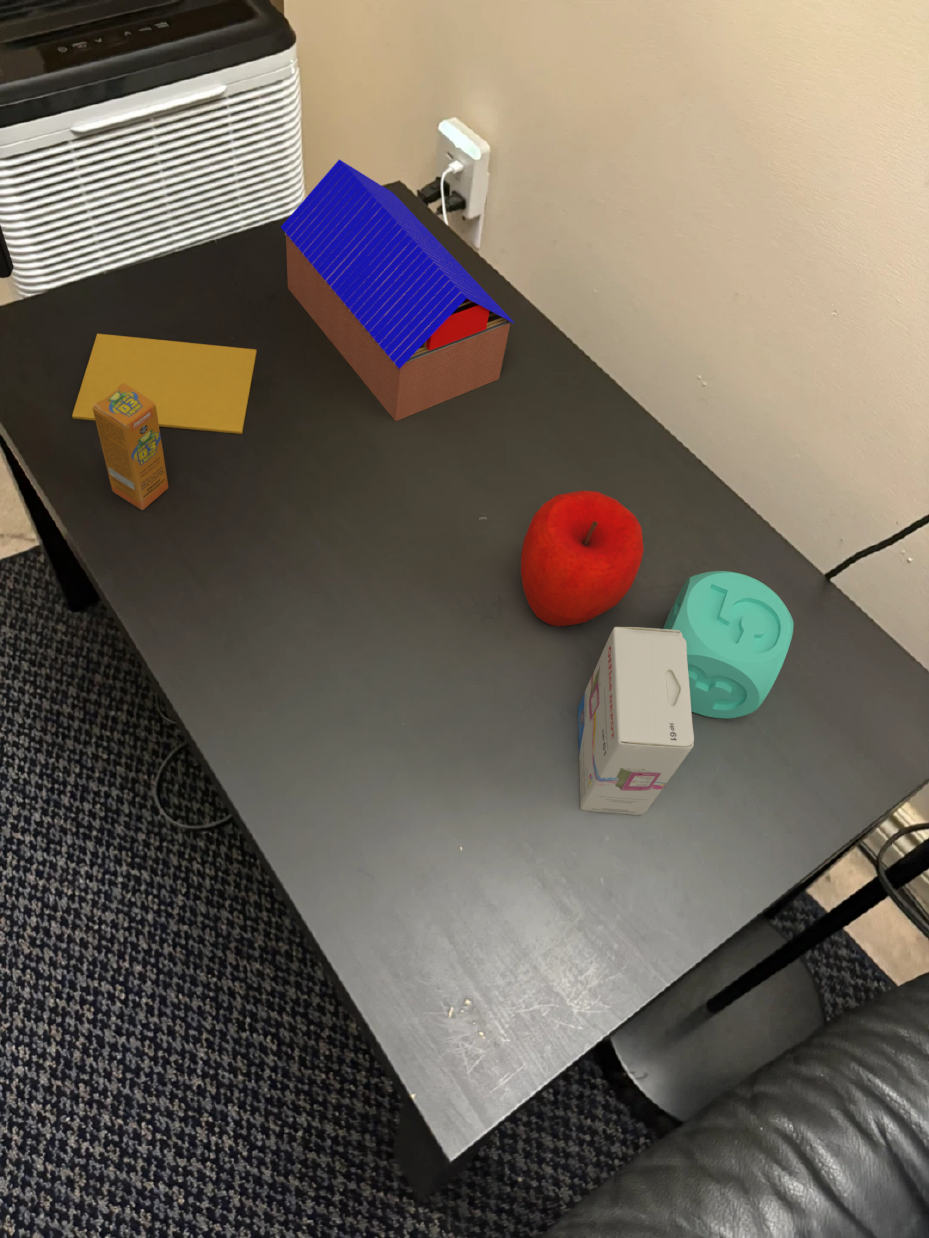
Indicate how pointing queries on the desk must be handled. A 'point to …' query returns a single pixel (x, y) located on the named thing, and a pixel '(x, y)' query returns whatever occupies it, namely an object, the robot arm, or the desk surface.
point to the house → (391, 295)
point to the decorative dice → (730, 641)
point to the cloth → (172, 380)
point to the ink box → (634, 720)
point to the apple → (579, 557)
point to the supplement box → (132, 445)
